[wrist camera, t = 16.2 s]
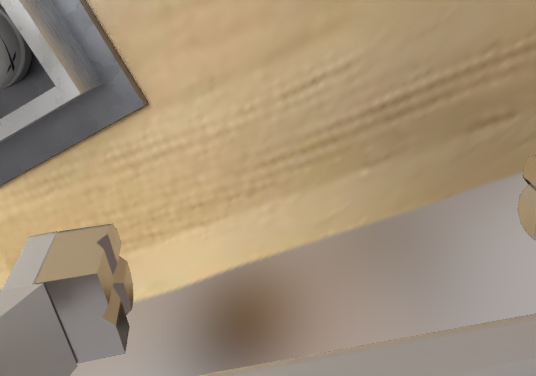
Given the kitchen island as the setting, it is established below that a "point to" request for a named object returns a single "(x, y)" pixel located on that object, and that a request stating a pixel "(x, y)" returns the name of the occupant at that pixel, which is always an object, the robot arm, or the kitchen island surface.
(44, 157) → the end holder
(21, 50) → the travel mug
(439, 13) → the kitchen island surface
